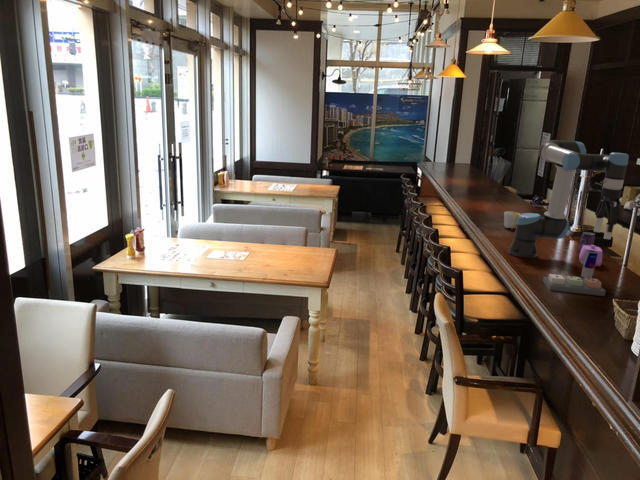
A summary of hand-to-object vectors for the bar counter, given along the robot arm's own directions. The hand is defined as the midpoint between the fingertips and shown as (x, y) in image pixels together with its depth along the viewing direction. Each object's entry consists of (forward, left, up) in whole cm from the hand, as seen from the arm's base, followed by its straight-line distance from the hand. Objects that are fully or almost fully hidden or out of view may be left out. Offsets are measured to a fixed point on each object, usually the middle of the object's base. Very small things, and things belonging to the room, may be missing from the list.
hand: (601, 235), depth 233 cm
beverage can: (-68, +19, -27) cm, 76 cm away
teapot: (-48, +15, -27) cm, 57 cm away
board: (0, -8, -27) cm, 28 cm away
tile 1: (0, -16, -25) cm, 29 cm away
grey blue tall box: (-16, +3, -27) cm, 31 cm away
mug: (-116, -12, -27) cm, 119 cm away
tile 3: (0, 0, -25) cm, 25 cm away
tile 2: (0, -7, -25) cm, 26 cm away
